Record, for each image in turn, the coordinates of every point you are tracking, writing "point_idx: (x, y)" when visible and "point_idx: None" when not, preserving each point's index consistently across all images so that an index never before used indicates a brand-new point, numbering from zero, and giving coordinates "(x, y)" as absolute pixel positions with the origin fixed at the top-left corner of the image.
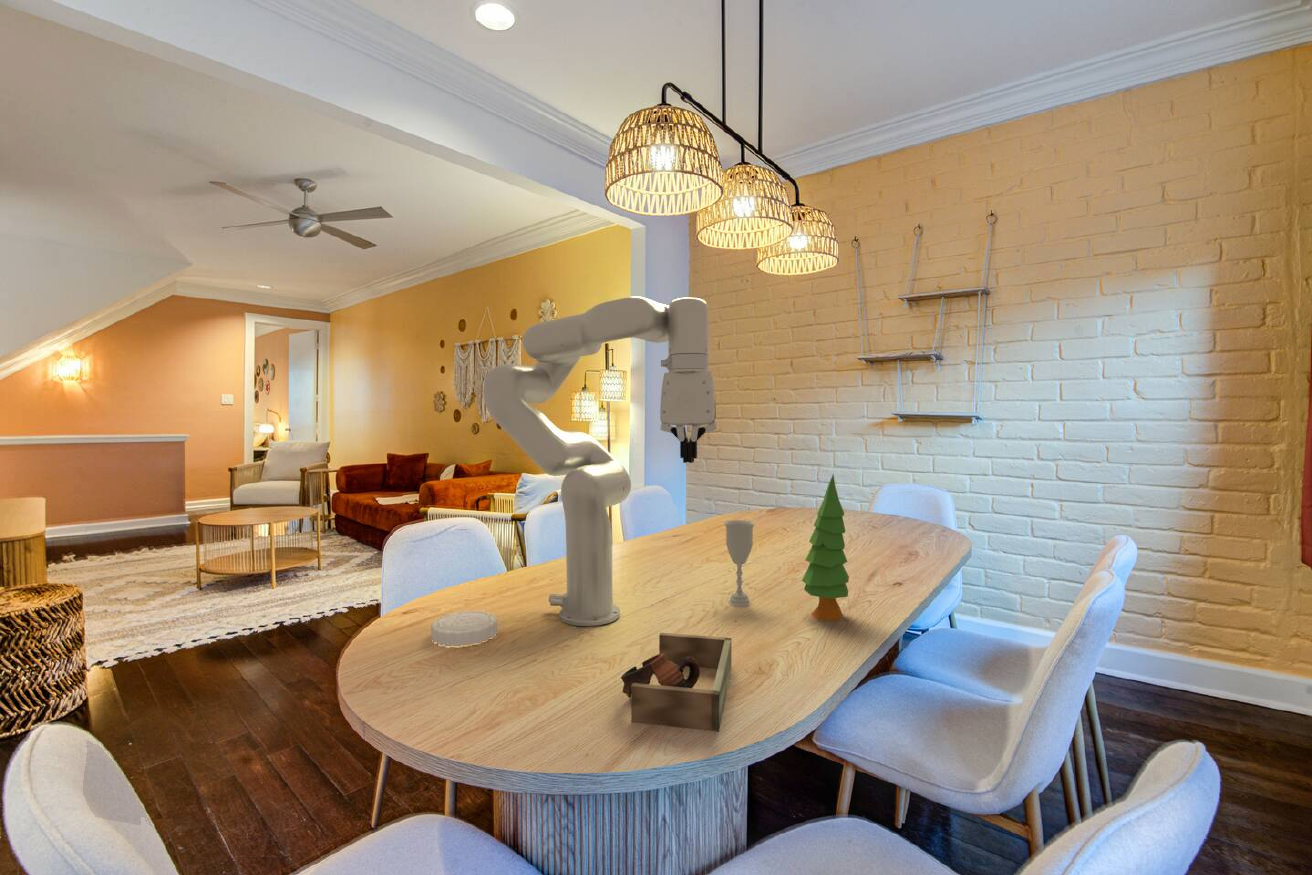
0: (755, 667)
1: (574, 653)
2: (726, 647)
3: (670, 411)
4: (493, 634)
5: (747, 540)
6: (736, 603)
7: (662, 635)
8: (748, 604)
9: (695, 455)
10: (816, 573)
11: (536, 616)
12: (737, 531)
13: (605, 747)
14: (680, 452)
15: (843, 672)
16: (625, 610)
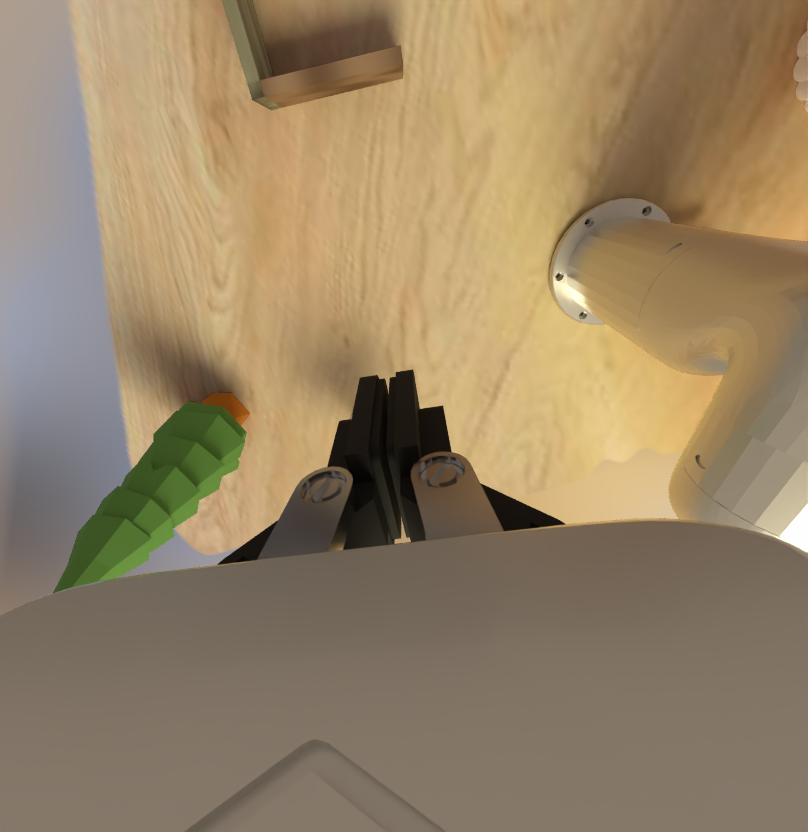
0: (234, 133)
1: (587, 40)
2: (236, 26)
3: (783, 806)
4: (805, 42)
5: None
6: None
7: (393, 47)
8: (351, 417)
9: (339, 422)
10: (198, 432)
11: (720, 222)
12: None
13: None
14: (444, 420)
15: (101, 177)
16: (547, 321)
